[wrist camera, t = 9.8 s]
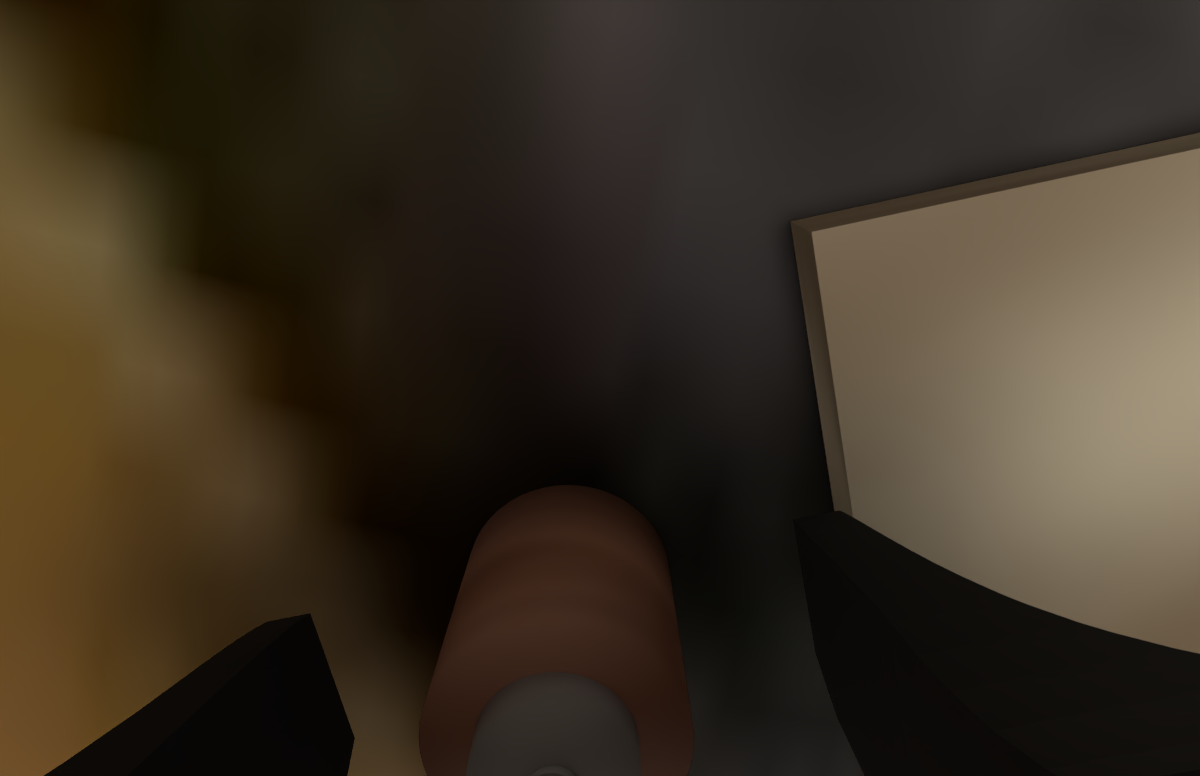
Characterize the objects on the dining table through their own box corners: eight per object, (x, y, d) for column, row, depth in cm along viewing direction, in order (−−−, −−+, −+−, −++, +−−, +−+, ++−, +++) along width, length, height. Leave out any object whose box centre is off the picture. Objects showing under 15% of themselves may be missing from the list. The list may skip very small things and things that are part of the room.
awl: (686, 645, 13) (746, 1009, 8) (496, 681, 13) (423, 1062, 8) (647, 466, 12) (682, 735, 7) (445, 507, 13) (322, 800, 7)
